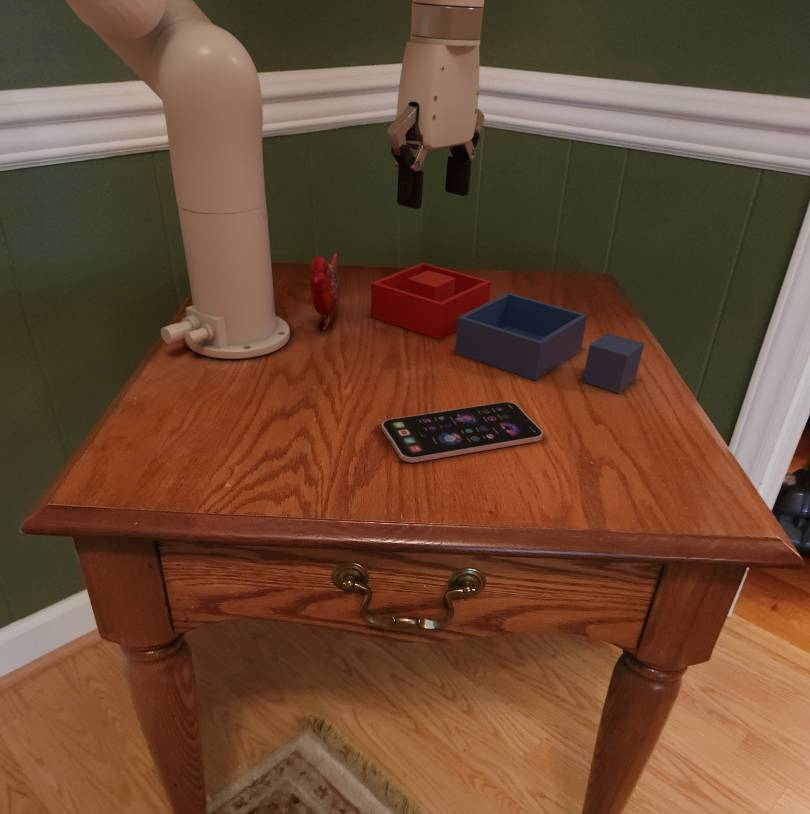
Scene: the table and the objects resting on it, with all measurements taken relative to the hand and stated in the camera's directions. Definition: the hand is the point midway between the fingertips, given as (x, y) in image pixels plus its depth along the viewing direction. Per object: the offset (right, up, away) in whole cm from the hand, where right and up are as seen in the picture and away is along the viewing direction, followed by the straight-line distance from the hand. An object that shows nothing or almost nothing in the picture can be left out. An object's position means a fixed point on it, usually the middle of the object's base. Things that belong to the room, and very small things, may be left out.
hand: (433, 199), depth 88 cm
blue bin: (+10, -18, +1) cm, 21 cm away
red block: (0, -11, +9) cm, 14 cm away
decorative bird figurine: (-13, -12, +7) cm, 20 cm away
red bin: (0, -11, +9) cm, 15 cm away
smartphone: (+2, -30, -15) cm, 34 cm away
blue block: (+20, -23, -5) cm, 31 cm away
